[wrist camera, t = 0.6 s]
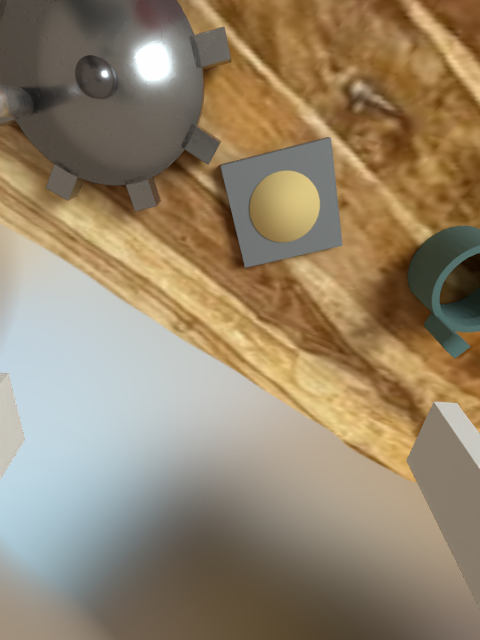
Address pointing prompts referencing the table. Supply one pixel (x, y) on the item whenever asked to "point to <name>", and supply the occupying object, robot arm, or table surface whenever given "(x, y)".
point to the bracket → (428, 280)
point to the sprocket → (127, 101)
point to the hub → (95, 77)
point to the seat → (284, 202)
